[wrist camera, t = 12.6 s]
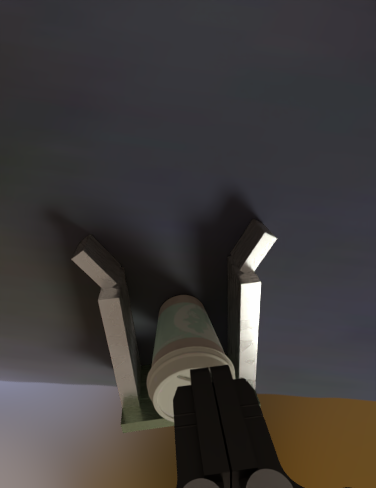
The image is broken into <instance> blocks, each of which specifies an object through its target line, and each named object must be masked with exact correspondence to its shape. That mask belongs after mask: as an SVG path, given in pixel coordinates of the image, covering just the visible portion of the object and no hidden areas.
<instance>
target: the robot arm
mask: <svg viewBox="0 0 376 488" xmlns="http://www.w3.org/2000/svg"><path fill="white" fill-rule="evenodd" d="M209 371H210V372H209ZM190 380H191V385H186V386H179V387H177V390H176V392H175V395H174V398H173V412H174V427H175V444H176V460H177V476H178V477H177V479H178V480H177V488H304V487H302V486H300V485H298V484H297V483H295V482H294V481H292V480H291V479H290V478H289V477H288V476H287V474H286V473H285V472H284V470H283V468H282V467H281V465H280V462H279V460H278V457H277V454H276V451H275V448H274V445H273V443H272V440H271V437H270V434H269V432H268V428H267V425H266V422H265V420H264V417H263V414H262V411H261V408H260V406H259V402H258V399H257V396H256V393H255V390H254V388H253V387H252V386H251V385H250V384H249V383H248V381H247V380H246V379H245V378H239V379H233V378H232V374H231V371H230V367H229V365H221V366H213V367H210V368H208V367H206V368H198V369H190ZM345 488H347V487H345ZM348 488H349V487H348Z"/></svg>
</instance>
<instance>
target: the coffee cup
mask: <svg viewBox="0 0 376 488" xmlns="http://www.w3.org/2000/svg"><path fill="white" fill-rule="evenodd" d="M221 365H229V367H230V371H231V374H232V378H233V379H235V370H234V366H233V364H232V362H231V361H230V359H229V358H228V357H227V356H226V355H225V353H224V351H223V348H222V346H221V344H220V342H219V339H218V337H217V335H216V333H215V331H214V328H213V326H212V324H211V322H210V319H209V317H208V315H207V313H206V311H205V308H204V306H203V304H202V303H201V302H200V301H199V300H198V299H197V298H195V297H192V296H189V295H178V296H174V297H172V298H170V299H168V300H167V301H166V302H165V303H164V304H163V305H162V306H161V308H160V311H159V317H158V323H157V331H156V338H155V345H154V352H153V360H152V367H151V369H150V371H149V373H148V376H147V389H148V394H149V397H150V399H151V400H152V402H153V405H154V408H155V410H156V411H157V413H158V414H159V415H161V416H162V417H163V418H165V419H167V420H169V421H171V422H174V412H173V398H174V395H175V392H176V390H177V387H179V386H186V385H191V380H190V369H198V368H206V367H208V368H210V367H213V366H221ZM209 372H210V371H209Z"/></svg>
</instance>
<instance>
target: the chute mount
mask: <svg viewBox="0 0 376 488" xmlns="http://www.w3.org/2000/svg"><path fill="white" fill-rule="evenodd" d="M276 239H277V238H276V237H275V236H274V235H273V234H272V233H271V232H270V230H269V229H268V228H267V227H266V226H265V225H264V224H262V223H260V222H259V221H257V220H255V219H252V221H251V222H250V224H249V225H248V227H247V228H246V230H245V231H244V233H243V235H242V236H241V238H240V239H239V241H238V242H237V244H236V245H235V247H234V248H233V250H232V252H231V253H230V254H231V256H227V288H228V355H226V356H227V357H228V358H229V359H230V361H231V362H232V364H233V366H234V370H235V379H239V378H245V379H246V380H247V381H248V383H249V384H250V385H251V386H252V387H253V388H254V390H255V381H256V362H257V344H258V326H259V308H260V290H261V281H260V280H259V278H258V276H257V275H256V273H255V272H254V271H255V269H256V268H257V266H258V265H259V264H260V262H261V261H262V259H263V258H264V256H265V255H266V253H267V252H268V251H269V249H270V248H271V246H272V245H273V243H274V242H275V241H276ZM72 260H73V261H74V262H75V263H76V264H77V265H78V266H79V267H80V268H81V269H82V270H83V271H84V272H85V273H86V274H87V275H88V276H90V277H91V278H92V279H93V280H94V281H95V282H96V283H97V284H98V285H99V286H100V287H101V291H100V294H99V298H98V303H99V307H100V312H101V316H102V320H103V325H104V329H105V334H106V338H107V342H108V347H109V351H110V356H111V360H112V364H113V369H114V373H115V378H116V382H117V386H118V391H119V395H120V400H121V404H122V418H121V427H122V431H123V433H126V432H133V431H140V430H146V429H154V428H161V427H168V426H174V422H171V421H169V420H167V419H165V418H163V417H162V416H161V415H159V414H158V413H157V411H156V410H155V408H154V405H153V402H152V400H151V399H150V397H149V394H148V389H147V376H148V373H149V371H150V369H151V367H152V365H144V366H141V363H140V357H139V351H138V345H137V339H136V334H135V328H134V322H133V316H132V310H131V305H130V299H129V293H128V287H127V281H126V275H125V270H124V267H121V268H120V264H119V263H118V262H117V261H116V259H115V258H114V257H113V256H112V255H111V254H110V253H109V252H108V251H107V250H106V249H105V248H104V247H103V246H102V245H101V244H100V243H99V242H98V241H97V240H96V239H95V238H94V237H93V236H92V235H91V234H90V235H89V236H87V237H86V238H85V239H83V240H82V241H81V242H80V243H79V245H78V247H77V249H76V251H75V253H74V255H73V257H72ZM255 393H256V391H255ZM256 396H257V394H256ZM257 399H258V397H257ZM258 402H259V399H258ZM259 406H260V402H259Z"/></svg>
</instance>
